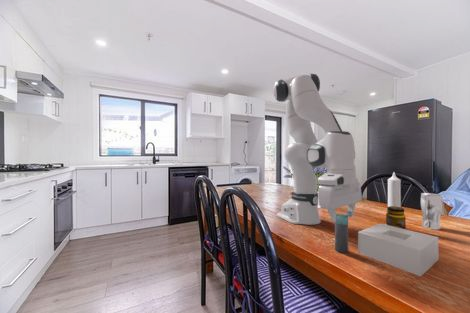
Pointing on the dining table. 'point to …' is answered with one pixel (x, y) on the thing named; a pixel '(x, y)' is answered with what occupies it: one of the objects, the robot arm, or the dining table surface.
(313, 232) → the dining table surface
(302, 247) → the dining table surface
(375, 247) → the socket block
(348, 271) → the dining table surface
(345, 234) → the dark gray rectangular block
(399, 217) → the condiment
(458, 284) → the dining table surface
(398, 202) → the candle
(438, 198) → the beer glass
